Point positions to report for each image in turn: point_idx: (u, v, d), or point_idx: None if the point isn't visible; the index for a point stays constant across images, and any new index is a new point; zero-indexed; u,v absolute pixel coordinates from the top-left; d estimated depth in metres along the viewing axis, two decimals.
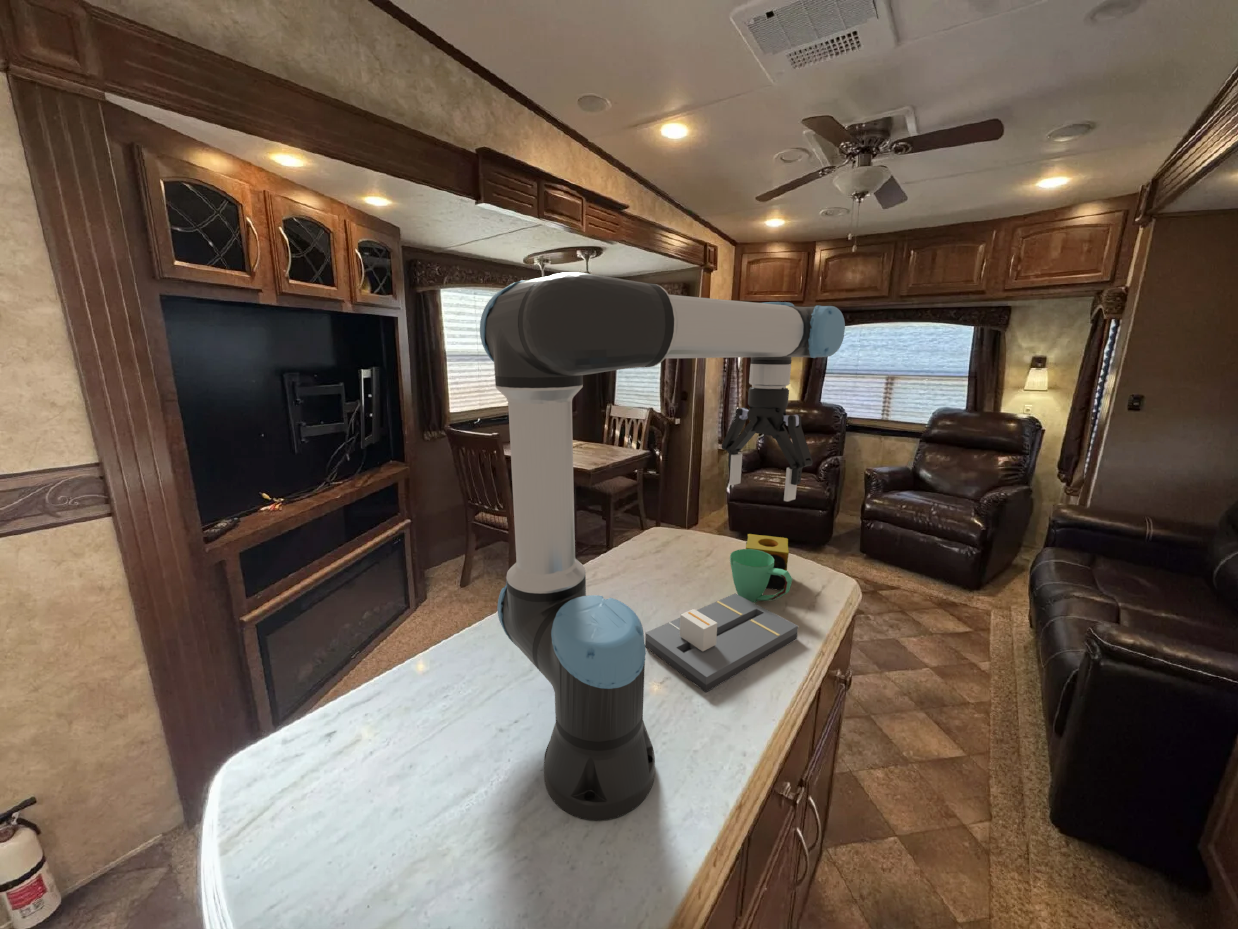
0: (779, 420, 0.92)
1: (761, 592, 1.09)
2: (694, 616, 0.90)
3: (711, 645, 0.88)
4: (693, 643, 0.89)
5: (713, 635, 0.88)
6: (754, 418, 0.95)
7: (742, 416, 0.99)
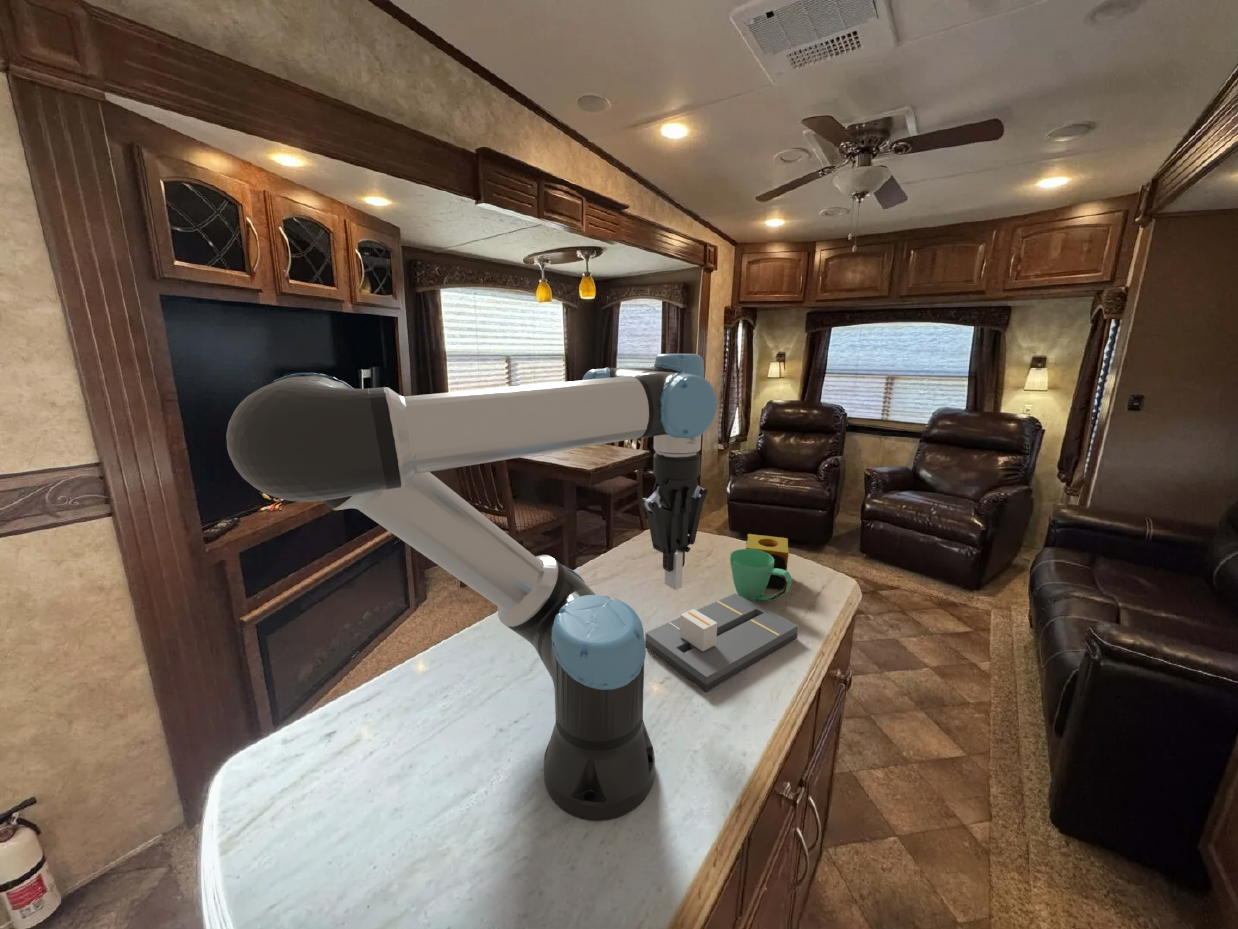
0: None
1: (761, 592, 1.09)
2: (694, 616, 0.90)
3: (711, 645, 0.88)
4: (693, 643, 0.89)
5: (713, 635, 0.88)
6: None
7: None
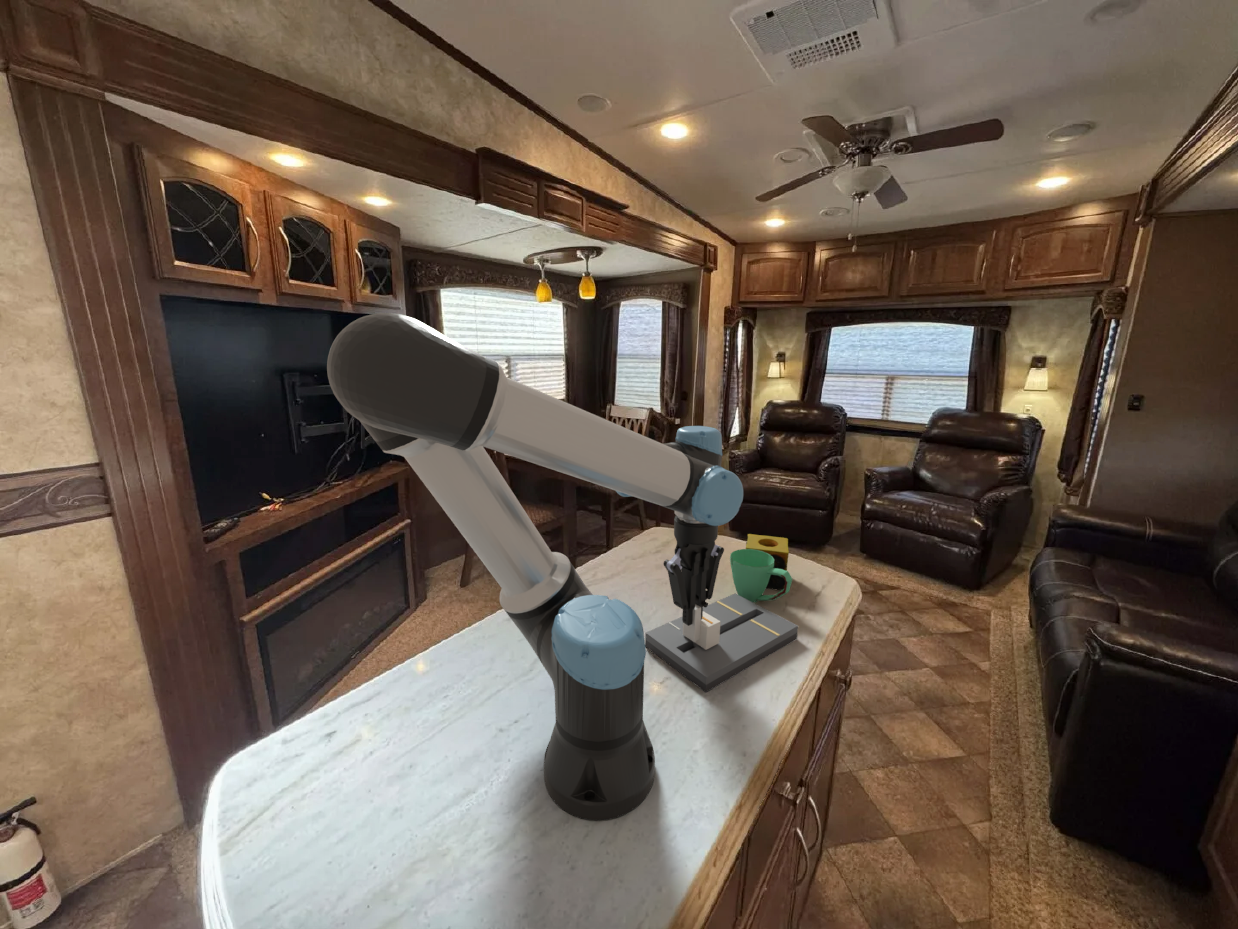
0: None
1: (761, 592, 1.09)
2: None
3: (714, 643, 0.89)
4: (696, 641, 0.89)
5: (716, 633, 0.89)
6: None
7: None
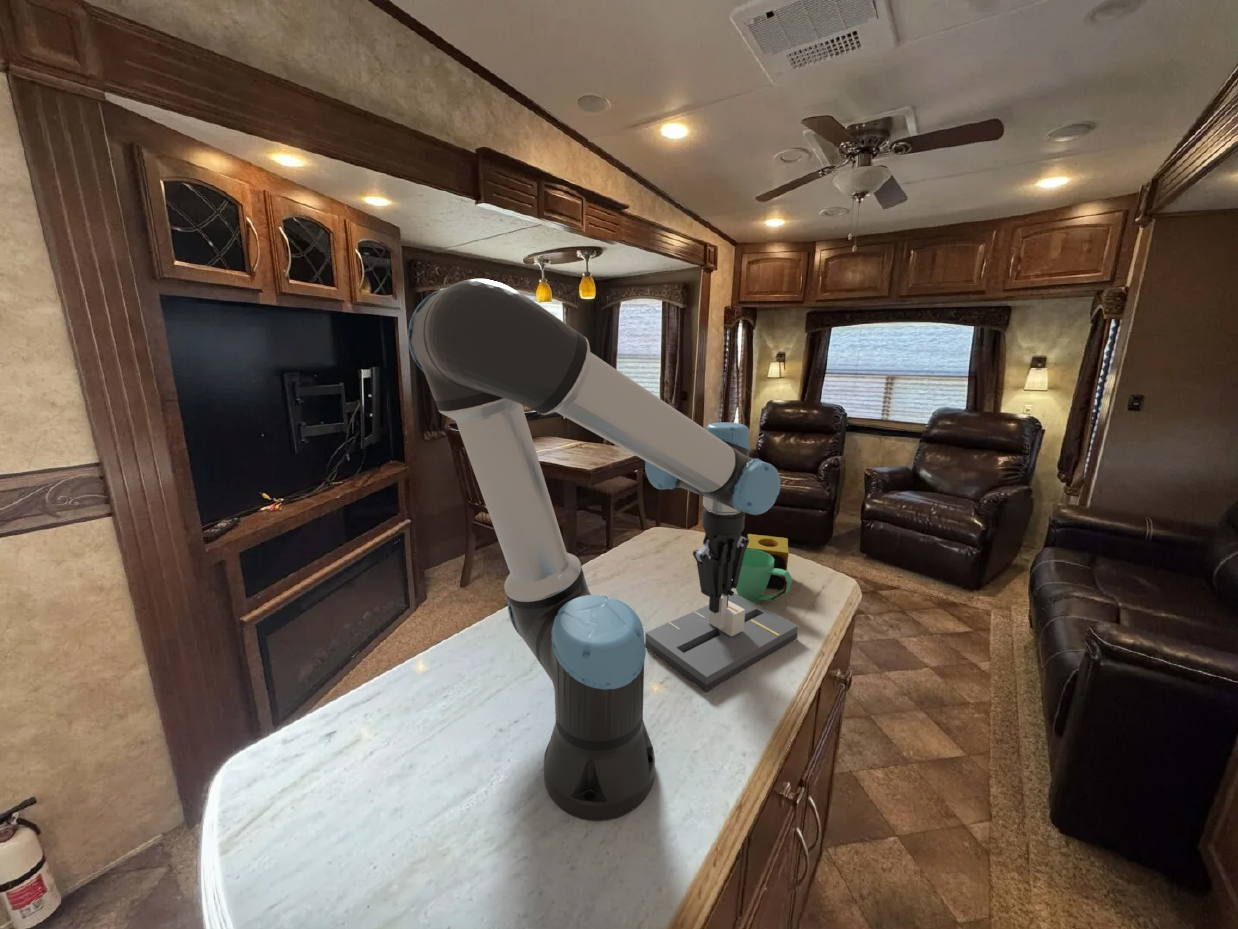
0: None
1: (761, 592, 1.09)
2: None
3: (739, 631, 0.93)
4: (722, 629, 0.93)
5: (741, 621, 0.93)
6: None
7: None
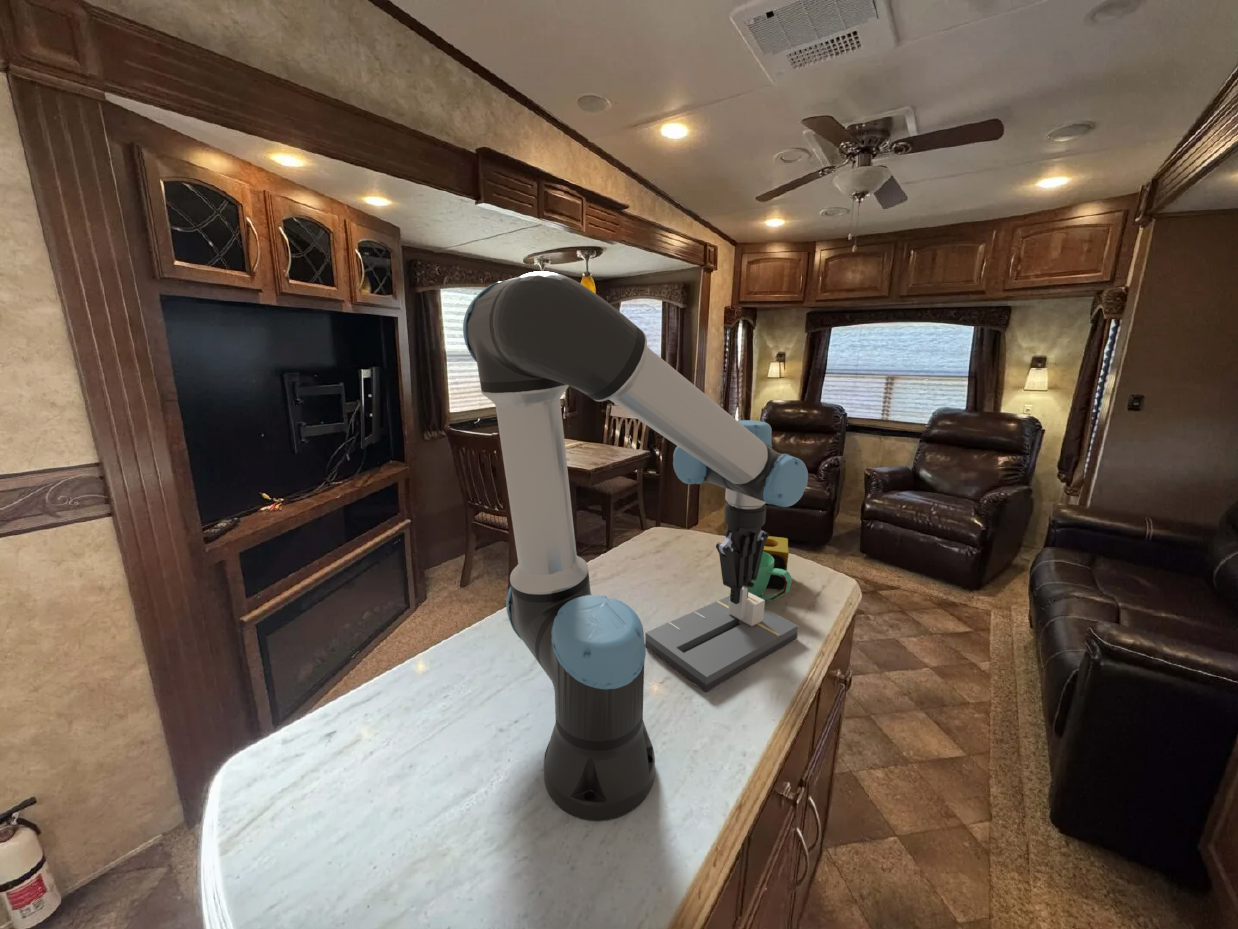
0: None
1: (761, 592, 1.09)
2: None
3: (759, 621, 0.96)
4: (742, 619, 0.97)
5: (761, 611, 0.96)
6: None
7: None
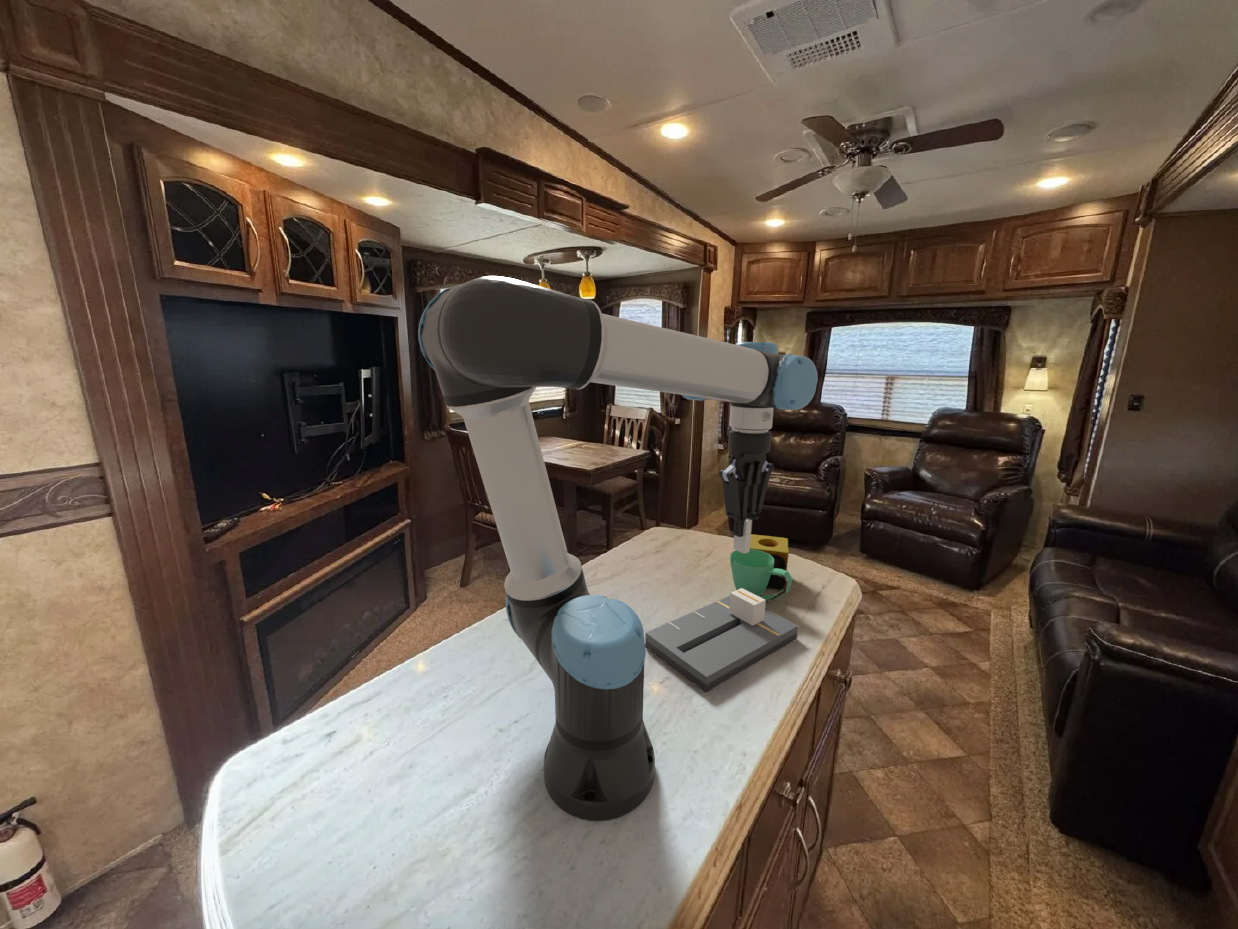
0: None
1: (761, 592, 1.09)
2: (743, 594, 0.98)
3: (760, 620, 0.96)
4: (743, 618, 0.97)
5: (762, 611, 0.96)
6: None
7: None
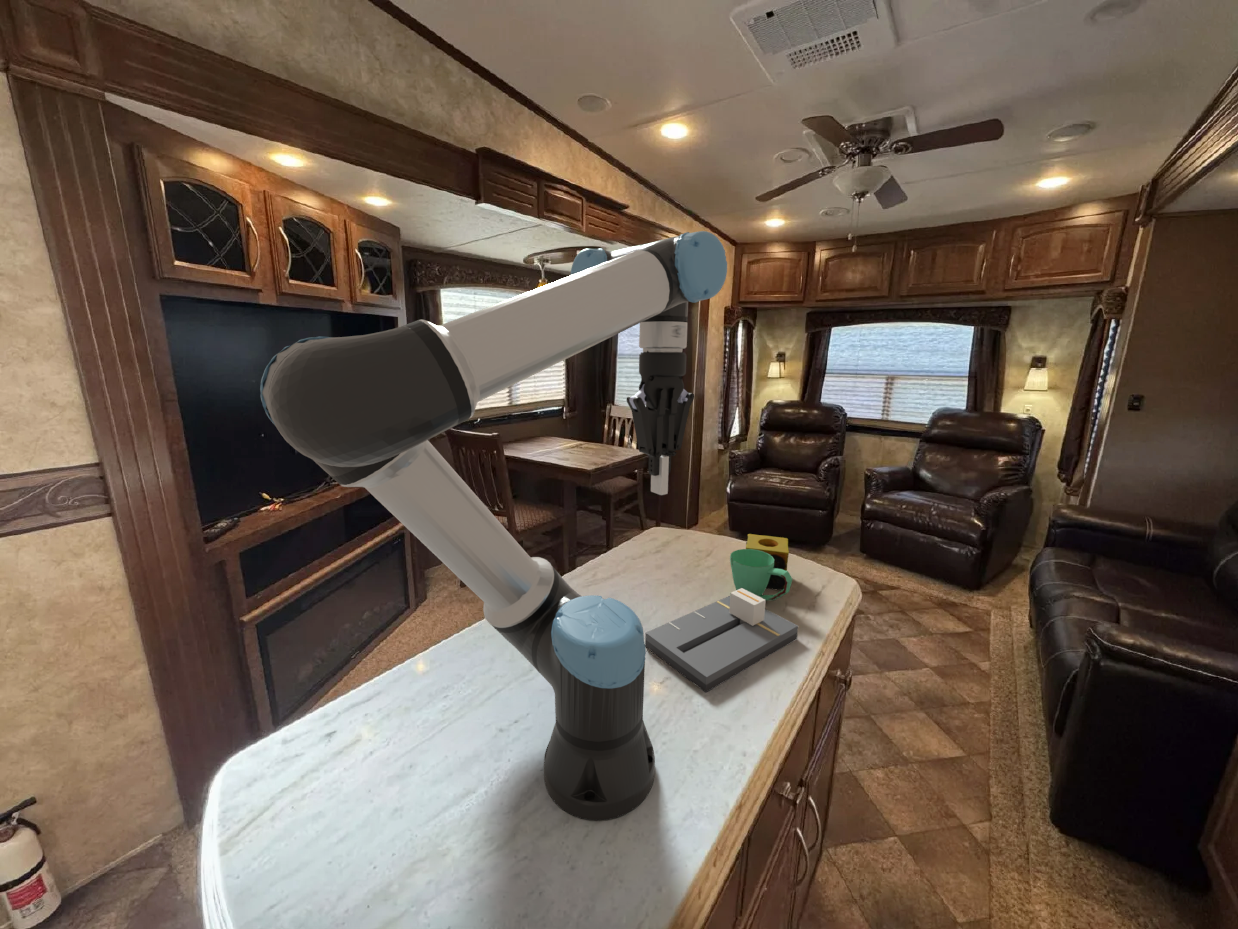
0: None
1: (761, 592, 1.09)
2: (743, 594, 0.98)
3: (760, 620, 0.96)
4: (743, 618, 0.97)
5: (762, 611, 0.96)
6: None
7: None
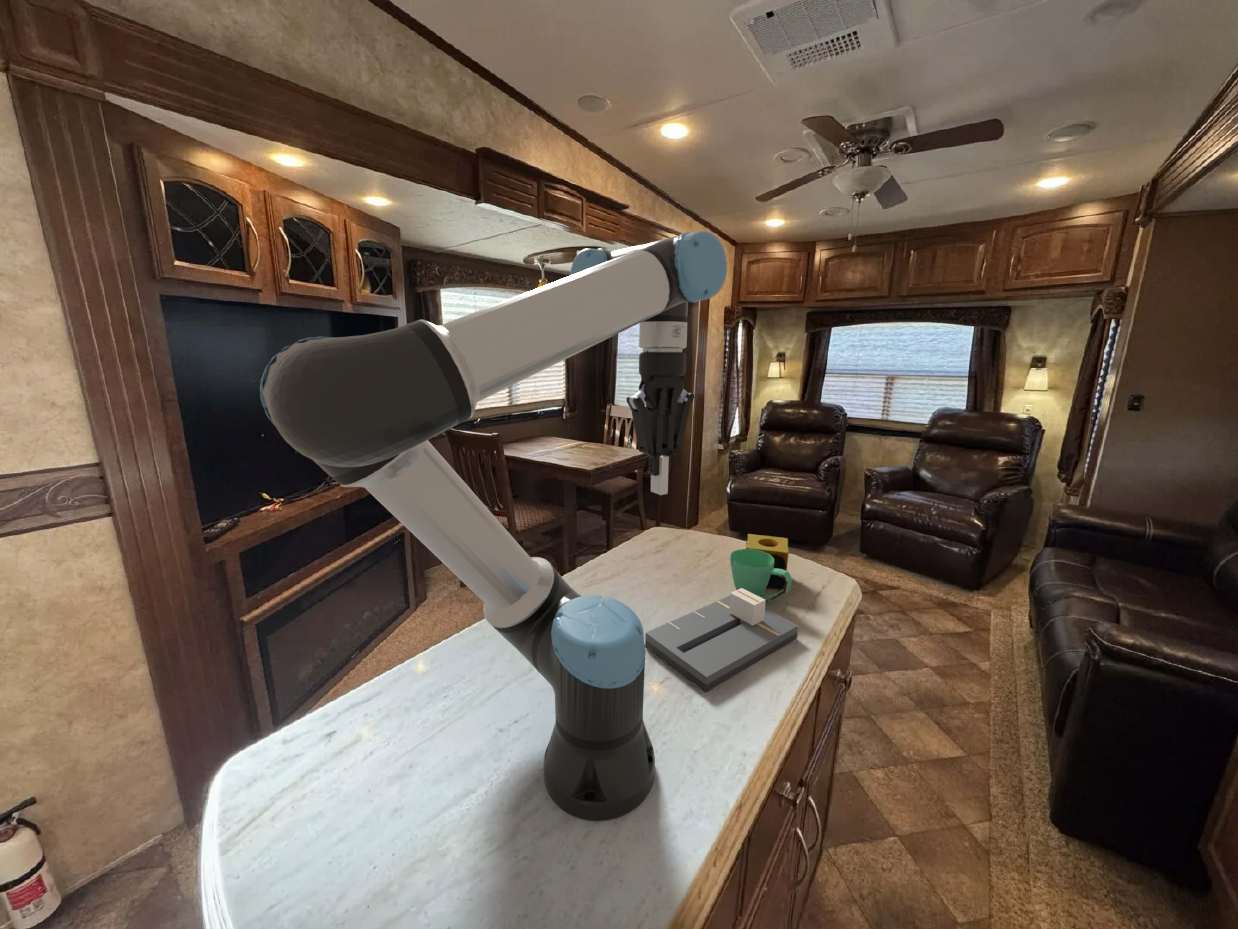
0: None
1: (761, 592, 1.09)
2: (743, 594, 0.98)
3: (760, 620, 0.96)
4: (743, 618, 0.97)
5: (762, 611, 0.96)
6: None
7: None
